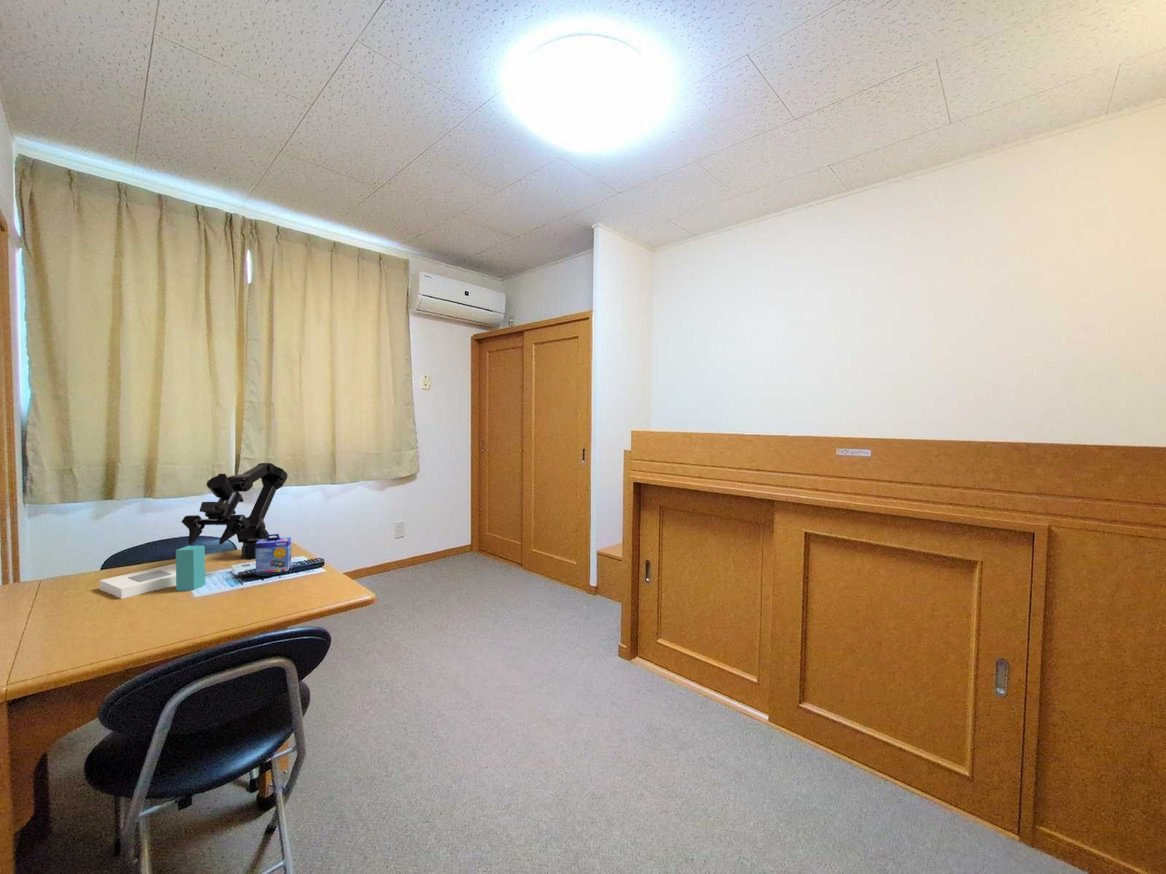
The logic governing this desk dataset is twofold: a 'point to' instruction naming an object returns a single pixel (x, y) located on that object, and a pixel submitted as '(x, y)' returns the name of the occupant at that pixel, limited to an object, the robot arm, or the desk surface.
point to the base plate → (140, 582)
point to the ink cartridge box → (273, 554)
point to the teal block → (190, 568)
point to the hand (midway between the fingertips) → (204, 544)
